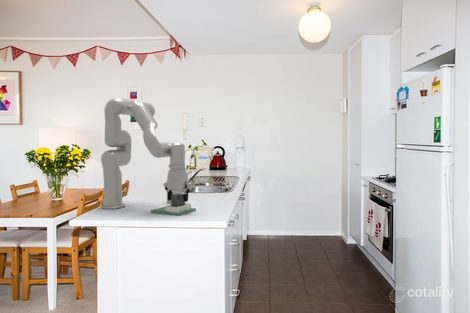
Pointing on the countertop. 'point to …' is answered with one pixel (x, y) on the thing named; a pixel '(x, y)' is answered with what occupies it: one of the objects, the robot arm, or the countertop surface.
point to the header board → (174, 210)
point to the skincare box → (173, 193)
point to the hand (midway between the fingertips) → (177, 200)
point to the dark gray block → (177, 200)
